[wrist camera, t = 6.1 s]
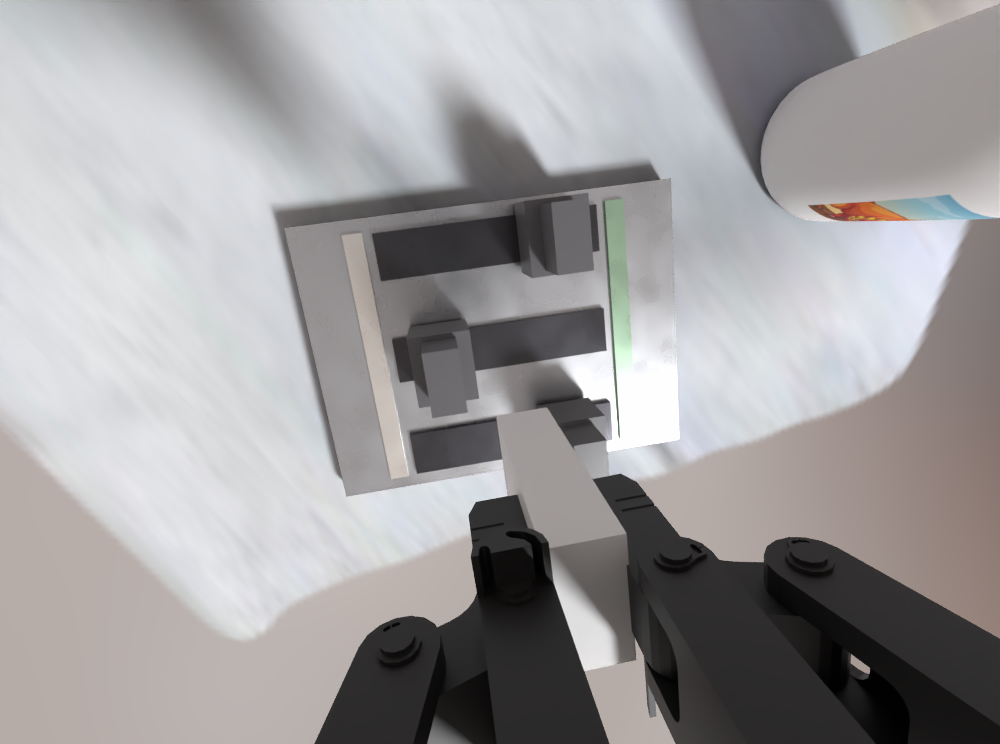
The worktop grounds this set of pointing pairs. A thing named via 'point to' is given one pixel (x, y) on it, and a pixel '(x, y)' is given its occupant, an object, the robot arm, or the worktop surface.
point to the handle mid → (443, 367)
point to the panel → (487, 329)
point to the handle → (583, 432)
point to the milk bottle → (895, 132)
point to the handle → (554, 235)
